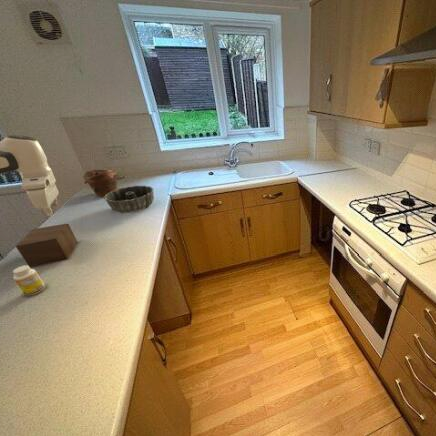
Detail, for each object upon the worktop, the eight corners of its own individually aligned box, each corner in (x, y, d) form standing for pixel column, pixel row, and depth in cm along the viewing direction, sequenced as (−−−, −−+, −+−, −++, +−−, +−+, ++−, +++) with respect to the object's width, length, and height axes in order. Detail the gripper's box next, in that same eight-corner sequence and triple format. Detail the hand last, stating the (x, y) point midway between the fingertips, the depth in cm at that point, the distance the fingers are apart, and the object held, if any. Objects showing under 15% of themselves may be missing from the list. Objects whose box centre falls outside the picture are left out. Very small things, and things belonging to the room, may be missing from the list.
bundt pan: (165, 204, 156) (161, 190, 151) (122, 220, 136) (115, 204, 132) (144, 196, 169) (140, 182, 164) (102, 209, 150) (96, 194, 145)
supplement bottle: (27, 288, 89) (12, 267, 84) (47, 283, 91) (33, 261, 87) (22, 298, 85) (6, 276, 80) (43, 292, 87) (29, 270, 82)
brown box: (44, 249, 112) (32, 229, 107) (78, 242, 116) (68, 223, 111) (29, 267, 100) (15, 246, 95) (67, 259, 105) (56, 238, 100)
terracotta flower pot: (94, 191, 178) (84, 168, 170) (125, 187, 185) (117, 164, 176) (86, 200, 163) (75, 175, 155) (120, 195, 170) (111, 171, 162)
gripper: (35, 174, 100) (49, 205, 106) (19, 187, 84) (36, 222, 90) (55, 172, 103) (67, 202, 109) (43, 184, 88) (58, 218, 93)
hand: (53, 211), depth 99 cm, fingers open, 8 cm apart
